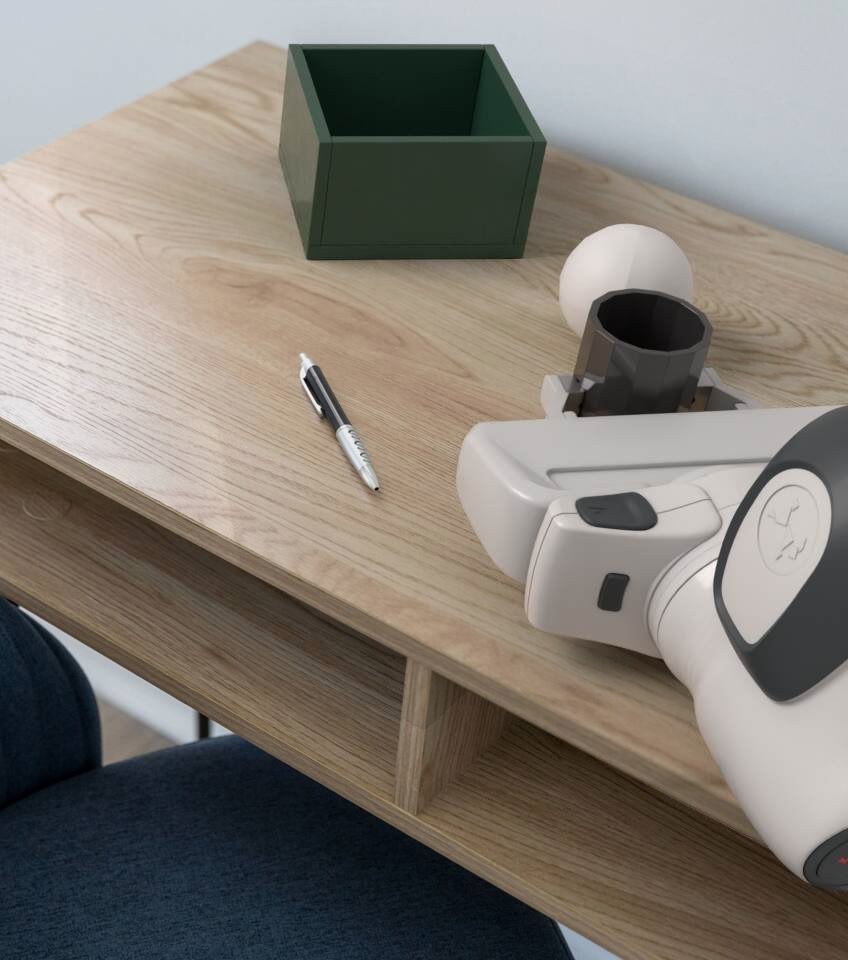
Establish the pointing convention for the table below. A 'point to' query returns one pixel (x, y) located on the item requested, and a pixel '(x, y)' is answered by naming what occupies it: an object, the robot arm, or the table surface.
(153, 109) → the table surface
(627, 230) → the seamed sphere
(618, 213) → the table surface
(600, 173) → the table surface
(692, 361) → the cup
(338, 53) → the bin
